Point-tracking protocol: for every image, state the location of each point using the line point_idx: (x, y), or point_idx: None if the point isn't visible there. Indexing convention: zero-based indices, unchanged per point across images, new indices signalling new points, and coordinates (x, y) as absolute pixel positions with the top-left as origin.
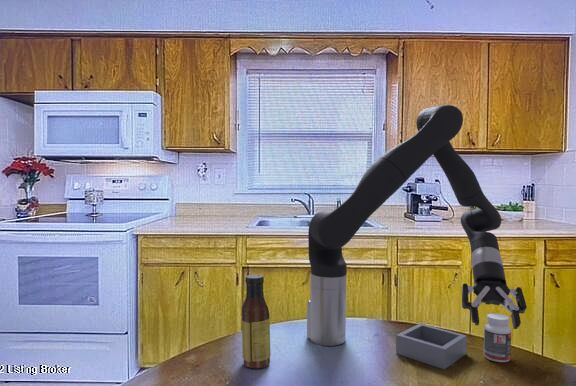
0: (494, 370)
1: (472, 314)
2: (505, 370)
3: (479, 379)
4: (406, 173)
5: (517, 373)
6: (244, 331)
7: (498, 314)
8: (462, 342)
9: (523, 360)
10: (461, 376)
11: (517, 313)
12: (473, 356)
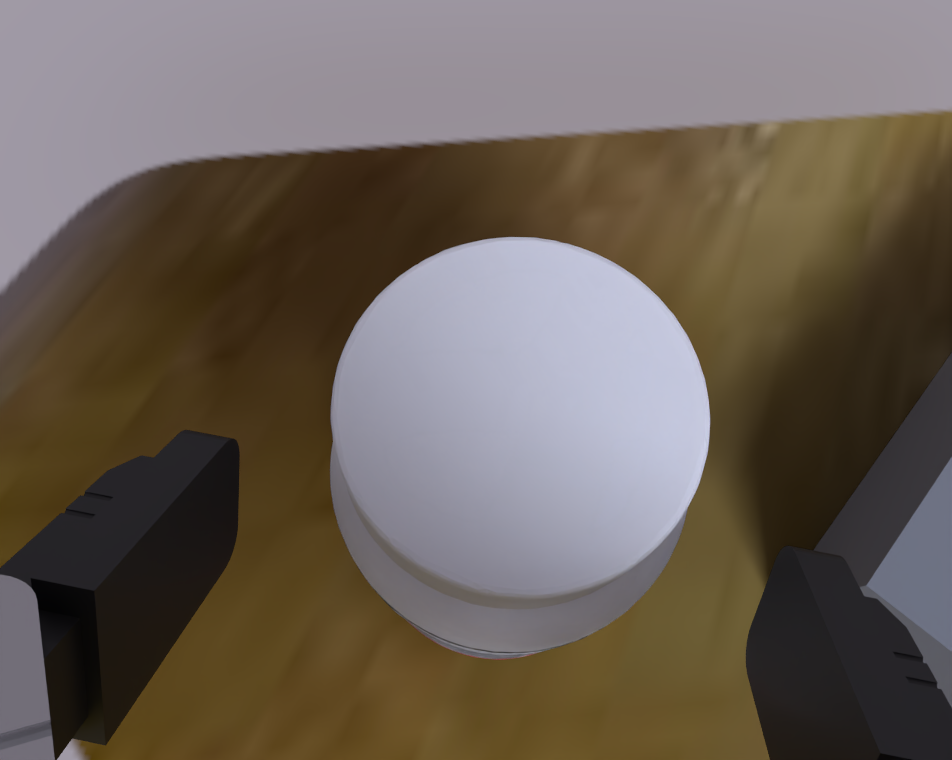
0: None
1: (928, 685)
2: None
3: (774, 146)
4: None
5: None
6: None
7: (463, 519)
8: (904, 495)
9: (258, 502)
10: (894, 177)
11: (26, 577)
12: (712, 555)
